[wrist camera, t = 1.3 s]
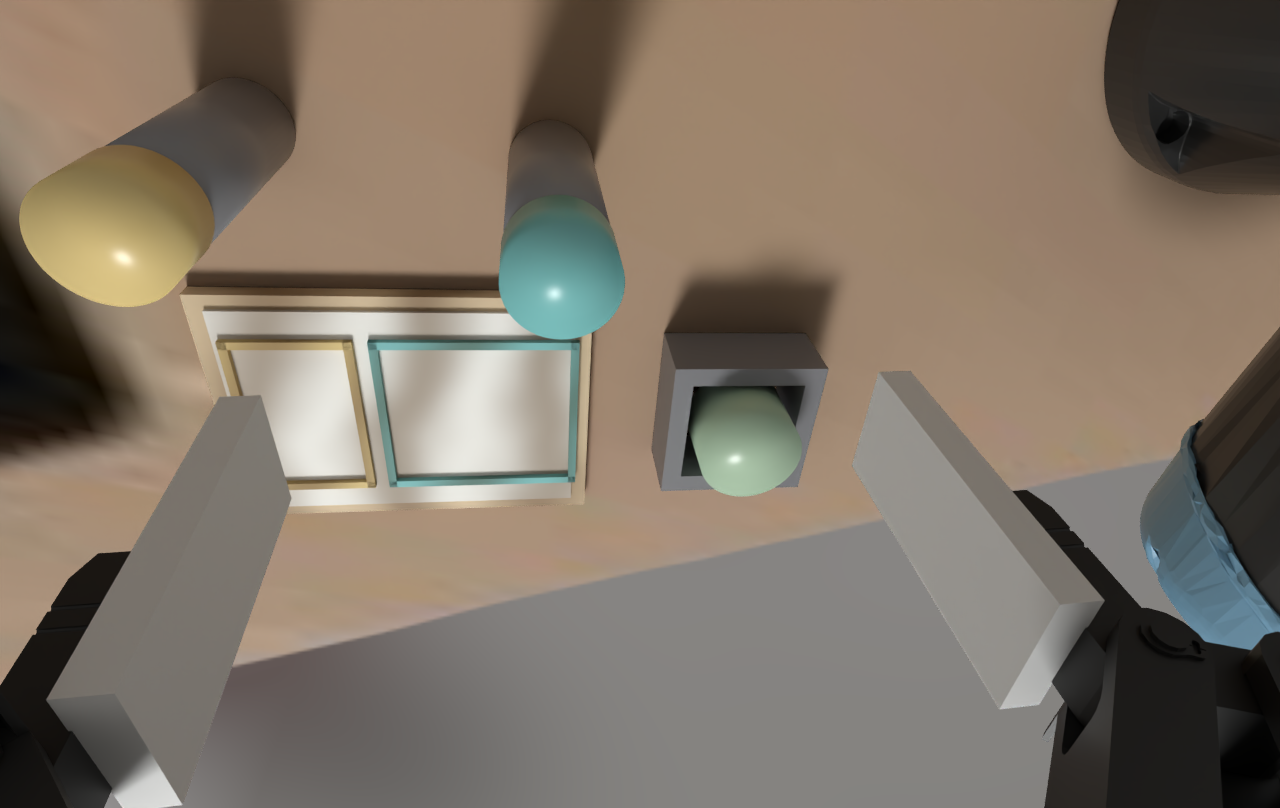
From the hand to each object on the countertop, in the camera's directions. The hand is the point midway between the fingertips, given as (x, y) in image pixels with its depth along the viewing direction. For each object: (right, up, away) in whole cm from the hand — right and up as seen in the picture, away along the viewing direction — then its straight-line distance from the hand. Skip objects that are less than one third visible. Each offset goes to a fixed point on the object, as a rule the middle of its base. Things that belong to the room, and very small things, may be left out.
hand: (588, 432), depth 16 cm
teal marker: (-3, +11, +15) cm, 19 cm away
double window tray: (-11, +1, +21) cm, 24 cm away
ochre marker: (-15, +12, +13) cm, 23 cm away
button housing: (+6, +1, +23) cm, 24 cm away
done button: (+6, 0, +22) cm, 23 cm away
